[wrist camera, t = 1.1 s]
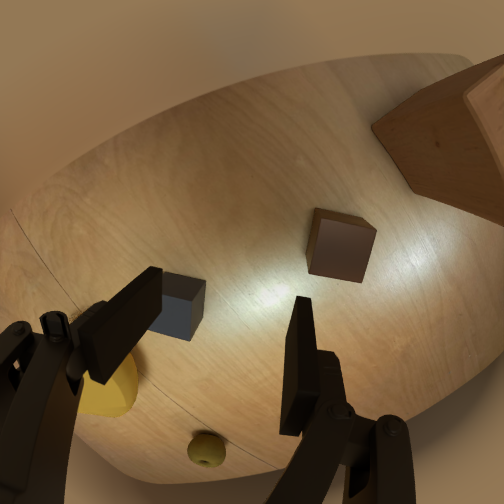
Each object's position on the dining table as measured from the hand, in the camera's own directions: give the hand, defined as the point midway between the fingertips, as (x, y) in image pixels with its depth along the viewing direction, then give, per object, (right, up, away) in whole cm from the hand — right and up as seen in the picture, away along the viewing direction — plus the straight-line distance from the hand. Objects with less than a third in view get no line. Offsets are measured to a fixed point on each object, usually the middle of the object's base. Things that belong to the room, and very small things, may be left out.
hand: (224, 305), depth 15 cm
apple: (-7, -37, +35) cm, 51 cm away
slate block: (-8, -3, +23) cm, 25 cm away
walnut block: (+11, +5, +18) cm, 22 cm away
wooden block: (+22, +17, +13) cm, 31 cm away
